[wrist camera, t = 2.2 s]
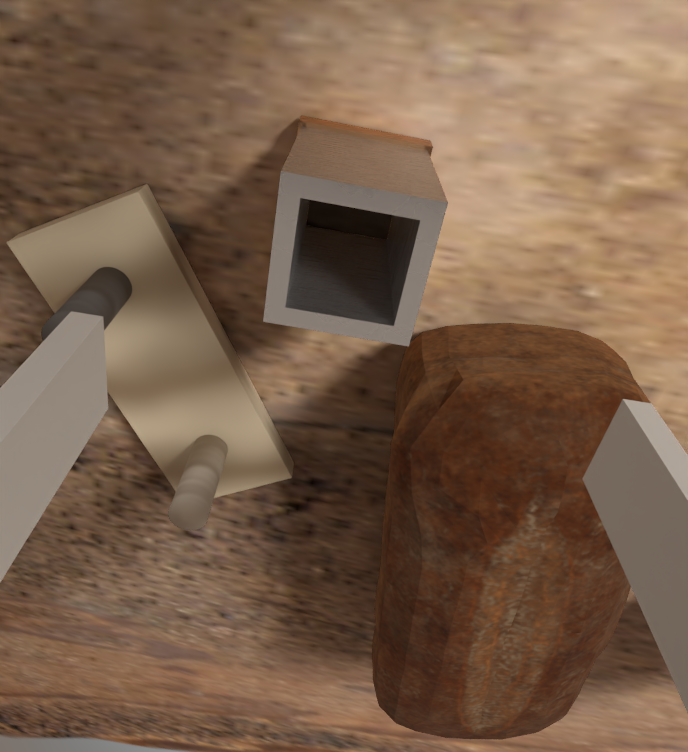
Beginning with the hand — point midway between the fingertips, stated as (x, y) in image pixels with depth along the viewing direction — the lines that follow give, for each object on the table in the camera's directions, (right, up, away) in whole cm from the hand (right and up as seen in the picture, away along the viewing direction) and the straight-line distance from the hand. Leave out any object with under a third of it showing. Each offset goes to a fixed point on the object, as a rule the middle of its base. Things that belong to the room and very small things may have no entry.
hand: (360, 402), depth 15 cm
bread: (+9, -7, +27) cm, 29 cm away
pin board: (-11, +2, +22) cm, 24 cm away
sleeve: (0, +10, +16) cm, 19 cm away
